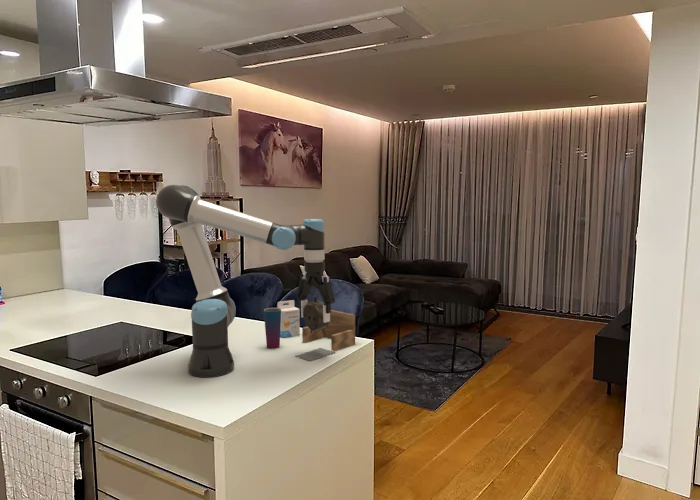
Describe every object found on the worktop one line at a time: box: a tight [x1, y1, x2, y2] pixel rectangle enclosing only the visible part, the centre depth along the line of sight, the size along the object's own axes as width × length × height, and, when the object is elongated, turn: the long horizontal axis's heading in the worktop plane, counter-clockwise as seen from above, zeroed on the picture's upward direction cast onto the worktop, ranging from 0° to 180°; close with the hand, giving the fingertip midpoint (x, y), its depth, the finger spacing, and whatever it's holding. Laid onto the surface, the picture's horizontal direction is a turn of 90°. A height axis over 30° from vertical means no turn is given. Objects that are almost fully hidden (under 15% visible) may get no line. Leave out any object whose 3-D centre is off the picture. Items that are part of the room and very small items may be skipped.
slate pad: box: [294, 347, 336, 362], centre depth 184 cm, size 13×8×1 cm, turn 138°
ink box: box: [277, 299, 301, 339], centre depth 210 cm, size 8×5×15 cm, turn 123°
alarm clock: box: [303, 289, 329, 334], centre depth 182 cm, size 11×5×16 cm, turn 43°
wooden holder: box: [301, 309, 356, 352], centre depth 198 cm, size 12×18×12 cm
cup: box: [263, 307, 281, 350], centre depth 193 cm, size 7×7×15 cm
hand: (315, 319), depth 182 cm, fingers closed on alarm clock, 11 cm apart
